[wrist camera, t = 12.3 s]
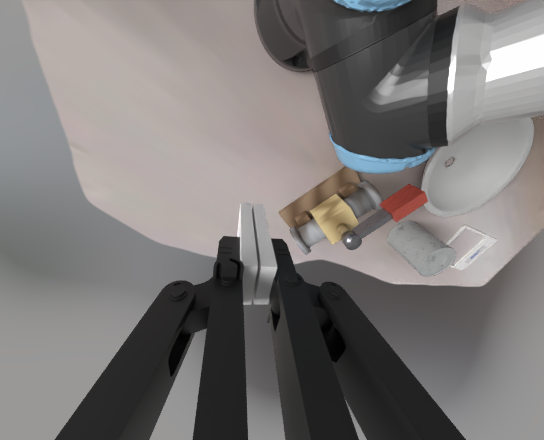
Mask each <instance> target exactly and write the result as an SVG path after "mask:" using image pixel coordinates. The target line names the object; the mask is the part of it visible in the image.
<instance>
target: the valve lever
mask: <svg viewBox="0 0 544 440" xmlns="http://www.w3.org/2000/svg"><path fill="white" fill-rule="evenodd" d="M427 202H428V199H427V196H426V193H425V192H424V191H422V190H420V189H418V188H416V187H414V186H412V185H410V184H408V185H407V186H405V187H404V188H402V189H401V190H399V191H398V192H396V193H395V194H393V195H392V196H390V197H389V198H388V199H386V200H385V201H383V202H382V203H380V204H379V205H380V207H381V210H380V211H378V212H377V213H375V214H374V215H372V216H371V217H369V218H368V219H366V220H365V221H363V222H362V223H360V224H359V225H357V226H356V227H354V228H353V229H352V230H348V231H346V232H344V233H343V234H342V236H341V240H342V242H343V243H344V245H345V246H346V247H347V249H349V250H354V249H357V248H358V247H359V246H360V245H361V243H362V240H361V239H362V238H364V237H365V236H367V235H368V234H370V233H371V232H373V231H374V230H376V229H377V228H379V227H380V226H382V225H383V224H385V223H387V222H388V221H390V220H391V219H393V220H394V221H395V222H397V221H399V220H400V219H402V218H403V217H405V216H407V215H408V214H410V213H411V212H413V211H414V210H416V209H417V208H419V207H420V206H422V205H424V204H425V203H427Z"/></svg>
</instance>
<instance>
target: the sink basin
mask: <svg viewBox="0 0 544 440" xmlns="http://www.w3.org/2000/svg"><path fill="white" fill-rule="evenodd" d="M533 138H534V125H533V121H532V119H531V117H529V118H523V119H517V120H511V121H505V122H499V123H493V124H487V125H481V126H479V127H477V128H475V129H473V130H472V131H470V132H469V133H468V134H467V135H466V136H464V137H463V138H462V139H461V140H459V141H458V142H457V143H456V144H454V145H451V146H444V147H437V148H436V150H435V151H434V152H433V154H432V155H431V157H430V158H429V160H428V162H427V164H426V166H425V169H424V173H423V177H422V184H421V190H422V191H424V192H425V193H426V196H427V199H428V202H427V203H425V204H424V206H425V208H426V209H427V210H428V211H429V212H431V213H432V214H434V215H437V216H441V217H452V216H458V215H462V214H465V213H467V212H470V211H472V210H474V209H476V208H478V207H480V206H482V205H483V204H485V203H486V202H488V201H489V200H491V199H492V198H493V197H494V196H496V195H497V194H498V193H499V192H500V191H501V190H503V189H504V188H505V187H506V186H507V185H508V183H509V182H510V181H511V180H512V179H513V178H514V177H515V175H516V174H517V173H518V171H519V170H520V168H521V167H522V165H523V164H524V162H525V160H526V158H527V156H528V154H529V152H530V149H531V146H532V143H533ZM451 157H453V158H454V162H453V164H452V165H450V166H449V167H446V166H445V163H446V161H447V160H448V159H449V158H451Z"/></svg>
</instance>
